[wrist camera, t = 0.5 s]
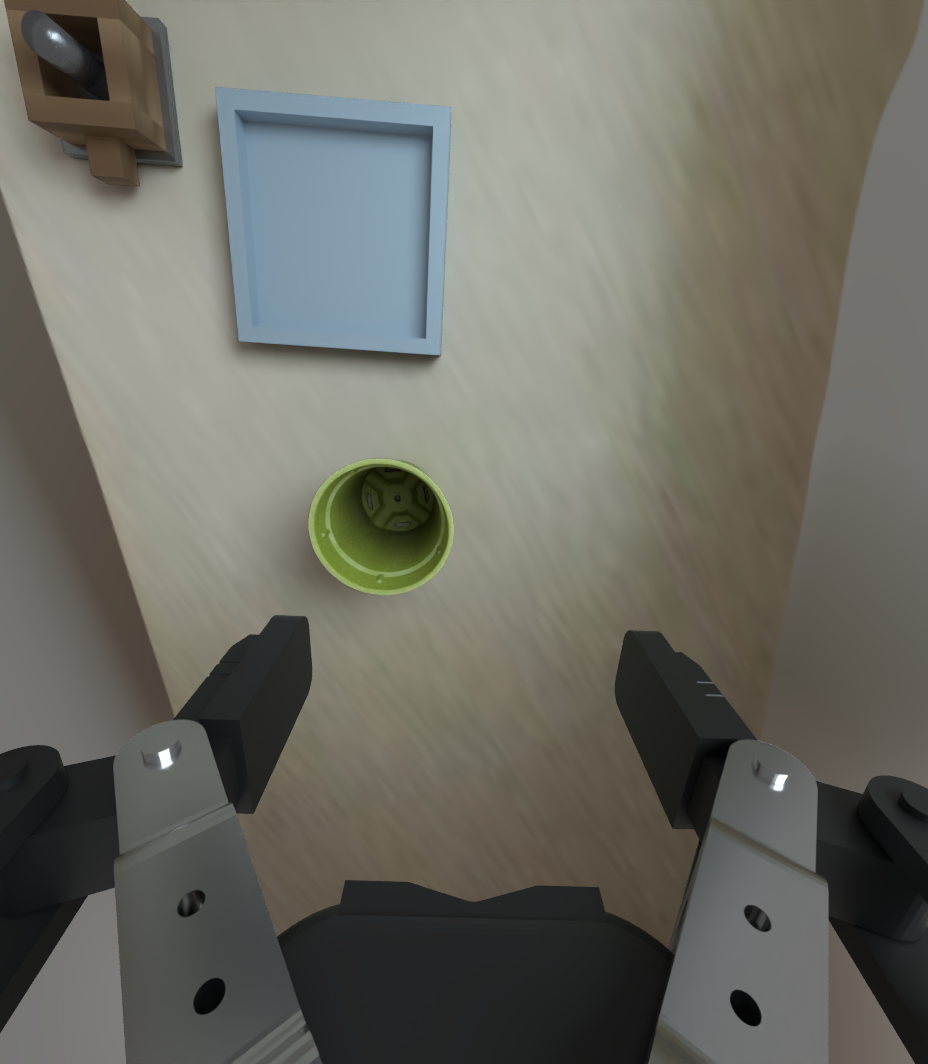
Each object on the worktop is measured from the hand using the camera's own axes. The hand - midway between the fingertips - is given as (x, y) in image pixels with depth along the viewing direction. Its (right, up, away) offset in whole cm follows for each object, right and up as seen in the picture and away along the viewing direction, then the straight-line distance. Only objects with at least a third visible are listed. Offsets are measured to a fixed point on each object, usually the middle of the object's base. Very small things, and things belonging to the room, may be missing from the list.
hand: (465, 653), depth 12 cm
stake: (-22, +31, +17) cm, 41 cm away
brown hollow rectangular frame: (-22, +30, +17) cm, 41 cm away
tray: (-8, +23, +20) cm, 32 cm away
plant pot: (-5, +6, +27) cm, 28 cm away
